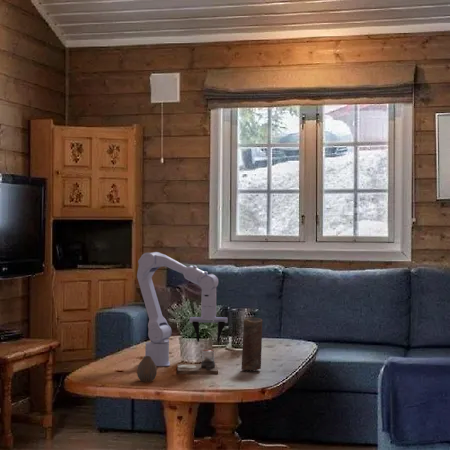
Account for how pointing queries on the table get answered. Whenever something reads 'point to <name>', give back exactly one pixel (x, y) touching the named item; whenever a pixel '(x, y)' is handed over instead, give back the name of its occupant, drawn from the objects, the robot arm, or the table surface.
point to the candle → (252, 344)
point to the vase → (146, 369)
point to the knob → (207, 356)
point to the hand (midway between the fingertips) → (208, 341)
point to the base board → (198, 368)
